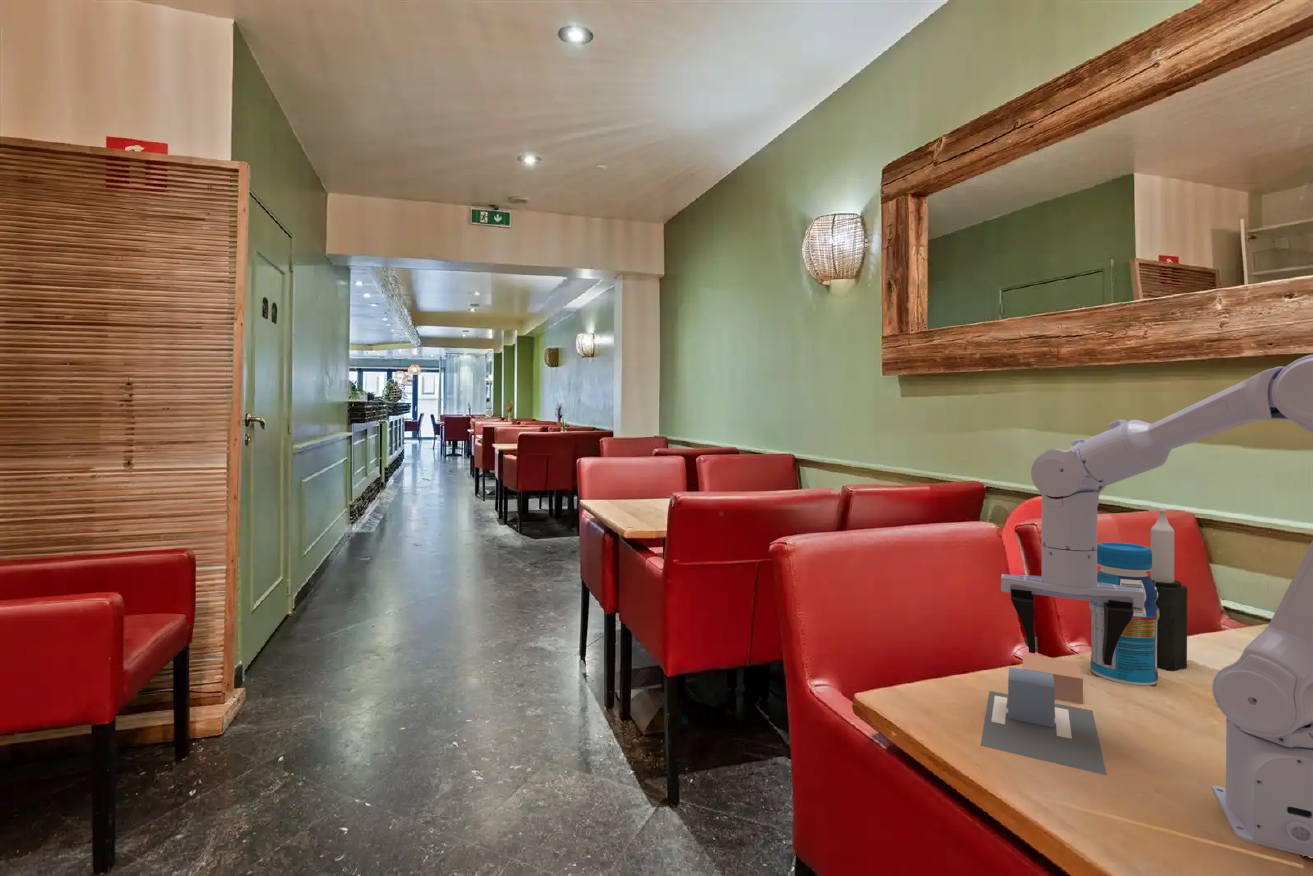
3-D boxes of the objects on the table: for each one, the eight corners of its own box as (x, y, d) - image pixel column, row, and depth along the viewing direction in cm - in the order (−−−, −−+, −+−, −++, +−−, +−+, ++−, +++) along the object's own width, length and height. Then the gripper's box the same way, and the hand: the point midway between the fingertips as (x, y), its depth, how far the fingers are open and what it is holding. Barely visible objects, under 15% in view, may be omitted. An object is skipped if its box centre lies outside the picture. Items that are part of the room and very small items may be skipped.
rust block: (1082, 708, 83) (1082, 678, 83) (1022, 697, 86) (1022, 668, 86) (1079, 689, 89) (1079, 662, 89) (1022, 679, 92) (1022, 653, 92)
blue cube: (1054, 727, 76) (1054, 687, 76) (1008, 718, 79) (1008, 679, 79) (1052, 712, 80) (1052, 674, 80) (1008, 703, 83) (1009, 666, 83)
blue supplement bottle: (1078, 673, 94) (1078, 543, 94) (1105, 663, 98) (1106, 539, 98) (1142, 693, 87) (1143, 553, 87) (1170, 681, 91) (1170, 547, 91)
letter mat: (1106, 778, 65) (1106, 775, 65) (980, 748, 72) (980, 745, 72) (1092, 712, 81) (1092, 710, 81) (989, 692, 87) (989, 690, 87)
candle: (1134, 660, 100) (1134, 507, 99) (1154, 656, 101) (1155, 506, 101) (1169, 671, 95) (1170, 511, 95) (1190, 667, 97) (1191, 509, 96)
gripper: (1138, 547, 75) (1137, 657, 75) (1002, 537, 83) (1002, 637, 83) (1147, 557, 69) (1147, 677, 69) (1000, 545, 77) (1000, 653, 77)
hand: (1068, 656), depth 76 cm, fingers open, 7 cm apart
